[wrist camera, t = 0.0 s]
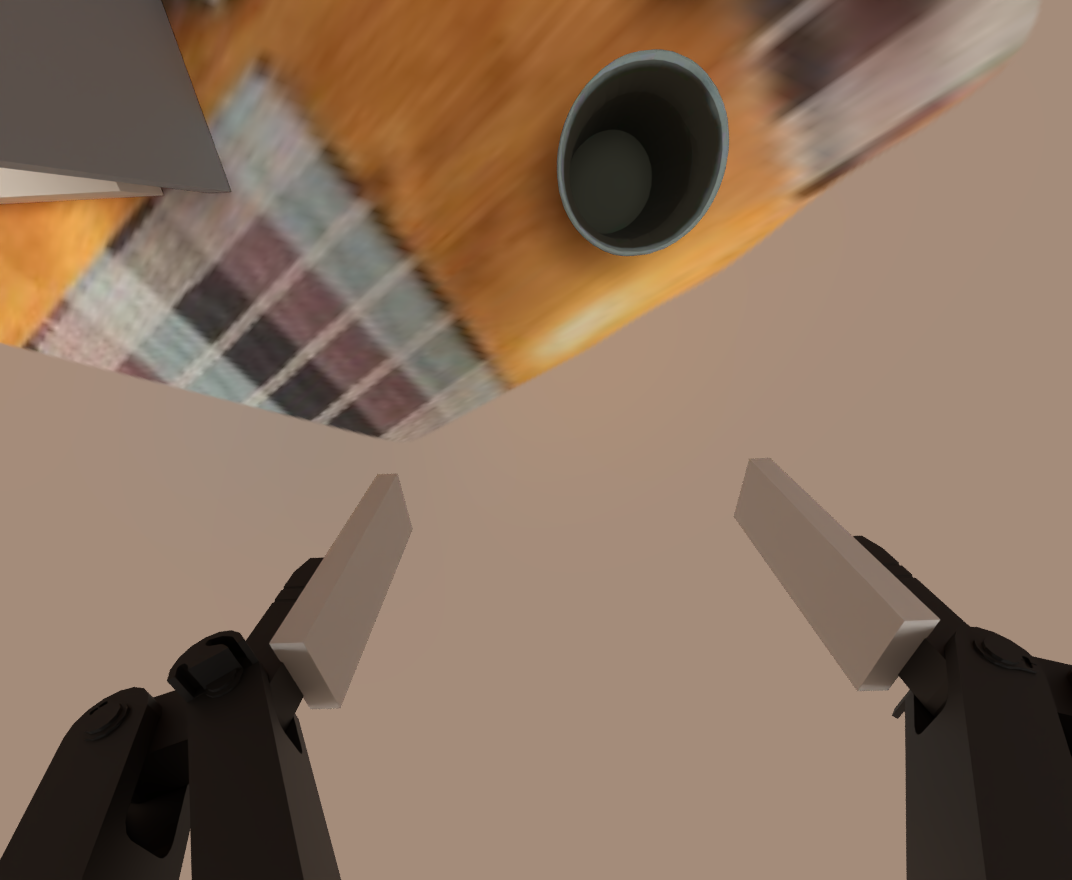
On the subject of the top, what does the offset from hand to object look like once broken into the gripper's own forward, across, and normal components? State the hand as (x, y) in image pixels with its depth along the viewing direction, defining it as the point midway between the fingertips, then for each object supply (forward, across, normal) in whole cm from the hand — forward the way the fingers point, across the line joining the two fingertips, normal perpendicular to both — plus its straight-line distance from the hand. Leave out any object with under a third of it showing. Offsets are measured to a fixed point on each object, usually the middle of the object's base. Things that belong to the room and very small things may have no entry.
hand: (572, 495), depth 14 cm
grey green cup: (+28, +6, +12) cm, 31 cm away
